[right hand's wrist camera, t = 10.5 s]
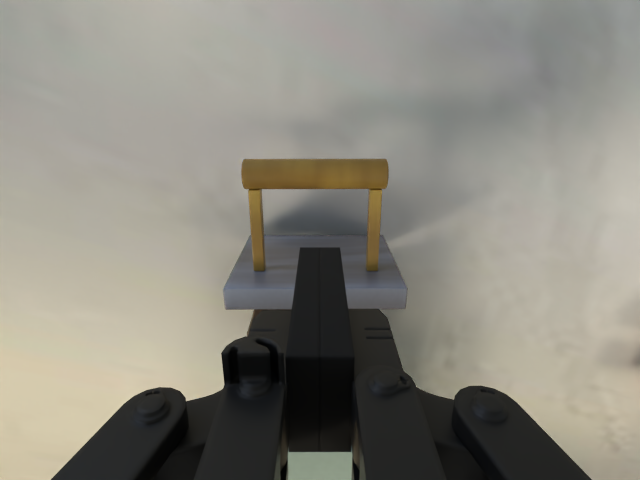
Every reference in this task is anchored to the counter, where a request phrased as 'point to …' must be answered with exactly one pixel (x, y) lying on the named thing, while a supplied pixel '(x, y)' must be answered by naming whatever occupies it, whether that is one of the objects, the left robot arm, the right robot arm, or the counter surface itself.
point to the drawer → (314, 238)
